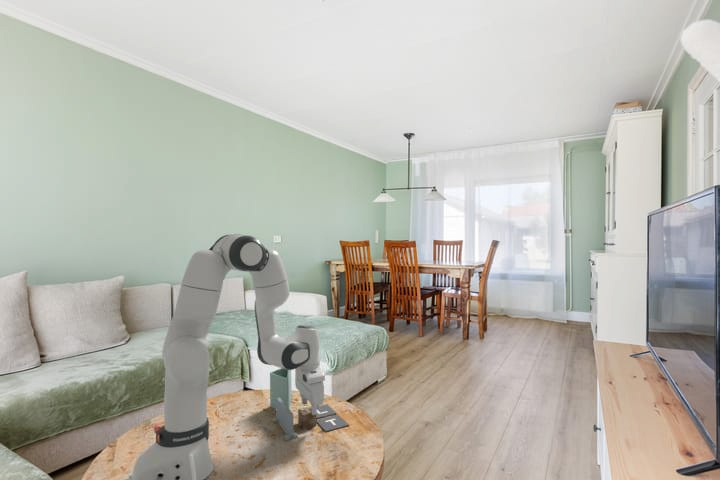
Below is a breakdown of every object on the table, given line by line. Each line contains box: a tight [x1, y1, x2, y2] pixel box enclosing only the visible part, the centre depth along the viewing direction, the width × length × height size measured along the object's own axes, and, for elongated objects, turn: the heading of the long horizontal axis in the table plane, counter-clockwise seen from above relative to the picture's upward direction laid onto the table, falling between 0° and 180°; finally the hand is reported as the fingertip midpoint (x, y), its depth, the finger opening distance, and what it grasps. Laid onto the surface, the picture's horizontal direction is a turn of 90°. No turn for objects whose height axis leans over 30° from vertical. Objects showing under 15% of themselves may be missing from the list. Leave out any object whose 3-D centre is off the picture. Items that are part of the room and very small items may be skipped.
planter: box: [269, 368, 292, 410], centre depth 150 cm, size 16×8×20 cm, turn 7°
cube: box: [297, 406, 317, 430], centre depth 134 cm, size 5×5×5 cm
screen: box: [272, 397, 299, 441], centre depth 131 cm, size 4×16×8 cm, turn 28°
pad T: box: [316, 414, 350, 433], centre depth 134 cm, size 9×9×1 cm
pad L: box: [316, 404, 338, 420], centre depth 143 cm, size 9×9×1 cm
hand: (309, 408), depth 134 cm, fingers open, 8 cm apart
